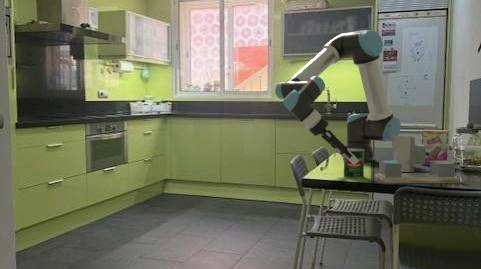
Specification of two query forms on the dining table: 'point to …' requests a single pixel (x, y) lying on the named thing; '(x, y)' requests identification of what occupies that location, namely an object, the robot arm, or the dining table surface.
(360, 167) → the canned tomato
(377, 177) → the board
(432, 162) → the module
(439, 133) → the candy bar box
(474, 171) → the dining table surface
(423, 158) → the circuit breaker
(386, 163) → the block
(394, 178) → the tan flat panel
